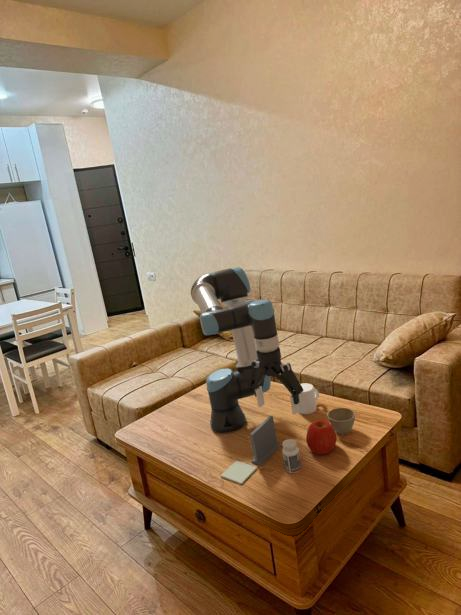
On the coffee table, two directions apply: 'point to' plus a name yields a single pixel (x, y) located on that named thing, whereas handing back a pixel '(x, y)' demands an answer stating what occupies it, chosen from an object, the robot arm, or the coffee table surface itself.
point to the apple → (321, 437)
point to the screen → (264, 441)
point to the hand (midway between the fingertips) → (278, 409)
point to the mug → (308, 399)
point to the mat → (238, 472)
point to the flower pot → (341, 420)
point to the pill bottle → (291, 456)
